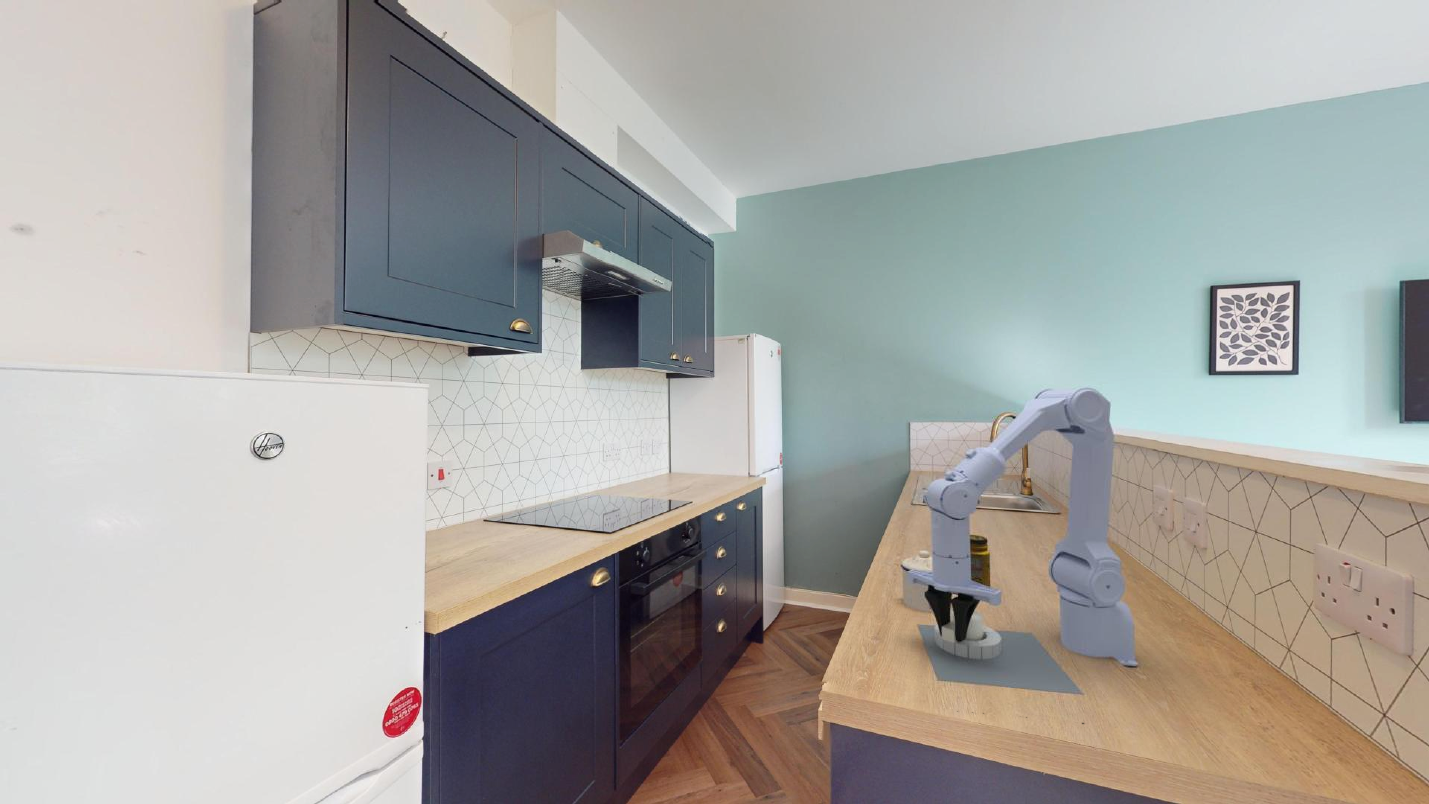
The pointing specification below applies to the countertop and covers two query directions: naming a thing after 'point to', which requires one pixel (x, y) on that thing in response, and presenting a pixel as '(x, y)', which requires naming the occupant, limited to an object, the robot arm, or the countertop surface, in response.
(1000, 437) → the robot arm
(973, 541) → the condiment
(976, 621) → the cream post on cylinder
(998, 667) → the stand
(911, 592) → the teacup with lid
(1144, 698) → the countertop surface
